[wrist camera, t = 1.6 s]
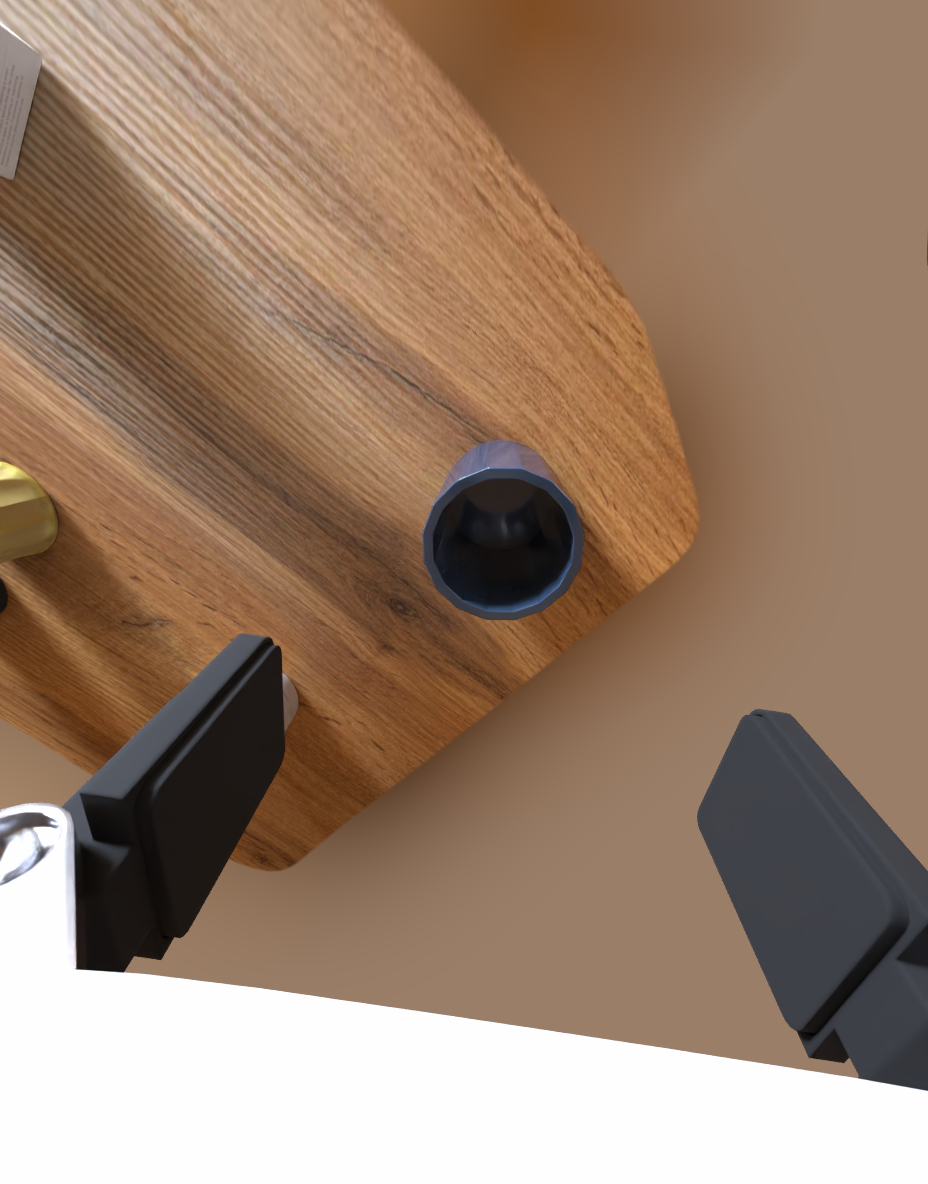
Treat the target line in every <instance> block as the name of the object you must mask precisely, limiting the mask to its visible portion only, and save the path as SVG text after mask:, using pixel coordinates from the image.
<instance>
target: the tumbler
mask: <svg viewBox="0 0 928 1184" xmlns="http://www.w3.org/2000/svg"><path fill="white" fill-rule="evenodd" d="M422 537H423V561H424V564H425V566H426V568H427V571H428V573H429V575H430V577H431V579H432V581H433V583H434V585H435V587H436V588H437V590H438V591H439V592H440V593H441V594H442V595H443V596H445V597H446V598H447V599H448V600H449V601H450V602H451V603H452V604H453V605H454V606H455V607H457V608H458V609H460V610H463V611H465V612H468V613H470V614H473V615H475V616H478V617H480V618H483V619H486V620H517V619H520V618H523V617H526V616H529V615H532V614H535V613H538V612H541V611H543V610H545V609H546V608H547V607H549V606H550V605H551V604H552V603H553V602H555V601H556V600H557V599H558V598H560V597H561V596H562V595H563V594H565V593H566V591H567V590H568V589H569V587H570V585H571V583H572V581H573V580H574V578H575V576H576V574H577V573H578V571H579V569H580V567H581V564H582V556H583V547H584V537H585V536H584V531H583V528H582V525H581V522H580V519H579V516H578V513H577V510H576V507H575V505H574V503H573V502H572V500H571V498H570V497H569V495H568V493H567V492H566V490H565V489H564V487H563V485H562V484H561V482H560V481H559V479H558V477H557V476H556V474H555V473H554V471H553V469H552V468H551V467H550V466H549V465H548V463H547V462H546V461H545V460H544V459H543V458H542V457H541V456H540V455H539V454H538V453H537V452H536V451H534V450H533V449H531V448H529V447H527V446H525V445H523V444H520V443H517V442H513V441H504V440H500V441H491V442H487V443H484V444H481V445H478V446H476V447H474V448H472V449H471V450H469V451H468V452H466V453H465V454H464V455H463V456H462V457H461V458H460V459H459V460H458V461H457V462H456V464H455V465H454V466H453V467H452V468H451V470H450V472H449V474H448V476H447V478H446V480H445V482H444V484H443V486H442V488H441V490H440V492H439V494H438V496H437V498H436V500H435V502H434V504H433V506H432V509H431V511H430V514H429V516H428V519H427V522H426V524H425V527H424V529H423V533H422Z"/></svg>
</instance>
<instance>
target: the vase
mask: <svg viewBox="0 0 928 1184" xmlns="http://www.w3.org/2000/svg"><path fill="white" fill-rule="evenodd" d="M57 532H58V519H57V514H56V511H55V508H54V506H53V504H52V502H51V500H50V498H49V496H48V495H47V493H46V492H45V491H44V489H43V488H42V487H41V486H40V485H39V484H38V483H37V482H36V481H35V480H34V479H33V478H32V477H30V476H29V475H28V474H26V473H25V472H23V471H22V470H20V469H18V468H17V467H15V466H12V465H10V464H7V463H4V462H0V563H3V562H6V561H9V560H12V559H15V558H18V557H22V556H28V555H33V554H38V553H42V552H44V551H46V550H47V549H48V548H49V547H50V546H51V545H52V544H53V543H54V541H55V539H56V536H57Z"/></svg>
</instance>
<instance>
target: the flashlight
mask: <svg viewBox="0 0 928 1184" xmlns="http://www.w3.org/2000/svg"><path fill="white" fill-rule="evenodd" d="M6 605H7V592H6V589H5V586H4V584H3V582H2V580H1V579H0V614H1V613H2V612H3V611H4V609H5V608H6Z"/></svg>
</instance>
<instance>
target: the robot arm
mask: <svg viewBox="0 0 928 1184" xmlns="http://www.w3.org/2000/svg"><path fill="white" fill-rule="evenodd" d="M284 754H285V729H284V703H283V677H282V653H281V648H280V647H279V646H275V645H274V643H273V640H272V639H271V638H270V637H264V636H257V635H250V634H239V635H238V636H237V637H236V638H235V639H234V640H233V641H232V642H231V643H230V644H229V645H228V646H227V647H226V648H225V649H224V650H223V651H222V652H221V653H220V654H219V655H218V656H217V657H216V658H215V659H214V660H213V661H211V662H210V663H209V664H208V665H207V666H206V667H205V668H204V669H203V670H202V671H201V672H200V673H199V674H198V675H197V676H196V677H195V678H194V679H193V680H192V681H191V682H190V683H189V684H188V685H187V686H186V687H185V688H184V689H183V690H182V691H181V692H180V693H179V694H177V695H176V696H175V697H173V698H172V699H171V700H170V701H169V702H168V703H167V704H166V705H165V706H164V707H163V708H162V709H161V710H160V711H159V712H158V713H157V714H156V715H155V716H154V717H152V718H151V719H150V720H149V721H148V722H147V723H146V724H145V725H144V726H143V727H142V728H141V729H140V730H139V731H138V732H137V733H136V734H135V735H134V736H133V737H132V738H131V739H130V740H129V741H128V742H127V743H126V744H125V745H124V746H123V747H122V748H121V749H120V750H119V751H118V752H117V753H116V754H115V755H114V756H113V757H112V758H111V759H110V760H109V761H108V762H107V763H106V764H105V765H104V766H103V767H102V768H101V769H100V770H99V771H98V772H97V773H96V774H95V775H94V776H93V777H92V778H91V779H90V780H89V781H87V783H86V784H85V785H83V786H82V787H81V789H79V790H78V791H77V792H76V793H75V794H74V795H73V796H72V797H71V798H70V799H69V800H68V801H67V802H66V803H65V804H64V805H63V806H62V807H61V806H58V805H53V804H49V803H27V804H23V805H18V806H14V807H10V808H5V809H3V810H0V1184H928V871H927V870H926V869H925V868H924V867H923V865H922V864H921V863H920V862H919V861H918V860H917V859H916V857H915V856H914V855H913V854H912V853H911V852H910V851H909V849H908V848H907V847H906V846H905V845H904V844H903V842H902V841H901V840H900V839H899V838H898V837H897V835H896V834H895V833H894V832H893V831H892V830H891V829H890V827H889V826H888V825H887V824H886V823H885V822H884V821H883V819H882V818H881V817H880V816H879V815H878V814H877V813H876V811H875V810H874V809H873V808H872V807H871V806H870V805H869V803H868V802H867V801H866V800H865V799H864V798H863V796H862V795H861V794H860V793H859V792H858V791H857V790H856V788H855V787H854V786H853V785H852V784H851V783H850V781H849V780H848V779H847V778H846V777H845V776H844V775H843V773H842V772H841V771H840V770H839V769H838V768H837V767H836V765H835V764H834V763H833V762H832V761H831V760H830V758H829V757H828V756H827V755H826V754H825V753H824V752H823V750H822V749H821V748H820V747H819V746H818V745H817V744H816V742H815V741H814V740H813V739H812V738H811V737H810V735H809V734H808V733H807V732H806V731H805V730H804V729H803V727H802V726H801V725H800V724H799V723H798V722H797V721H796V719H795V718H794V717H793V716H791V715H790V714H787V713H783V712H776V711H769V710H762V709H756V710H754V711H752V712H751V713H750V715H745V716H744V717H742V719H741V720H740V723H739V725H738V727H737V729H736V731H735V733H734V735H733V737H732V739H731V742H730V744H729V746H728V748H727V750H726V752H725V754H724V756H723V758H722V761H721V763H720V765H719V767H718V769H717V771H716V773H715V775H714V778H713V780H712V782H711V784H710V786H709V788H708V790H707V792H706V794H705V796H704V799H703V801H702V803H701V805H700V807H699V810H698V815H697V819H698V826H699V829H700V831H701V833H702V836H703V838H704V840H705V842H706V845H707V847H708V849H709V851H710V854H711V856H712V858H713V860H714V863H715V865H716V867H717V869H718V871H719V874H720V876H721V878H722V881H723V883H724V885H725V887H726V890H727V891H728V894H729V896H730V898H731V901H732V903H733V905H734V908H735V910H736V912H737V914H738V916H739V919H740V921H741V923H742V925H743V928H744V930H745V932H746V934H747V937H748V939H749V941H750V943H751V946H752V947H753V950H754V952H755V955H756V957H757V959H758V961H759V964H760V966H761V968H762V970H763V972H764V975H765V977H766V979H767V981H768V984H769V986H770V988H771V990H772V993H773V995H774V997H775V999H776V1002H777V1004H778V1006H779V1008H780V1011H781V1013H782V1015H783V1017H784V1019H785V1021H786V1022H787V1023H788V1025H789V1026H790V1027H791V1028H792V1029H794V1030H796V1031H797V1032H798V1035H799V1037H800V1039H801V1041H802V1044H803V1046H804V1048H805V1050H806V1052H807V1054H808V1057H809V1058H814V1059H821V1060H828V1061H835V1062H841V1063H844V1062H845V1061H846V1060H847V1059H848V1058H849V1057H850V1059H851V1061H852V1063H853V1065H854V1067H855V1069H856V1071H857V1072H858V1075H859V1077H858V1079H857V1078H851V1077H845V1076H838V1075H831V1074H825V1073H819V1072H813V1071H806V1070H800V1069H793V1068H787V1067H780V1066H775V1065H768V1064H762V1063H755V1062H749V1061H742V1060H736V1059H730V1058H724V1057H717V1056H710V1055H704V1054H698V1053H691V1052H685V1051H679V1050H673V1049H666V1048H659V1047H652V1046H646V1045H639V1044H633V1043H625V1042H619V1041H613V1040H607V1039H599V1038H593V1037H587V1036H580V1035H574V1034H567V1033H560V1032H554V1031H546V1030H540V1029H534V1028H527V1027H520V1026H514V1025H507V1024H500V1023H494V1022H487V1021H480V1020H474V1019H467V1018H460V1017H453V1016H447V1015H440V1014H433V1013H426V1012H419V1011H412V1010H406V1009H399V1008H391V1007H385V1006H378V1005H370V1004H364V1003H357V1002H350V1001H344V1000H337V999H329V998H323V997H315V996H308V995H302V994H295V993H288V992H281V991H274V990H268V989H260V988H252V987H244V986H236V985H228V984H220V983H212V982H204V981H195V980H188V979H179V978H172V977H164V976H156V975H147V974H136V973H124V971H125V970H126V968H127V966H128V965H129V963H130V962H131V960H132V958H133V957H134V956H137V957H145V958H151V959H157V960H161V959H162V958H163V956H164V954H165V952H166V951H167V949H168V947H169V945H170V944H171V942H172V940H173V939H174V937H177V938H181V937H183V936H184V935H185V934H186V933H187V932H188V930H189V928H190V927H191V925H192V923H193V921H194V920H195V918H196V916H197V915H198V913H199V911H200V909H201V907H202V906H203V904H204V902H205V900H206V898H207V897H208V895H209V893H210V891H211V890H212V888H213V886H214V884H215V883H216V881H217V879H218V877H219V875H220V874H221V872H222V870H223V868H224V866H225V865H226V863H227V861H228V859H229V857H230V856H231V854H232V852H233V850H234V849H235V847H236V845H237V843H238V841H239V840H240V838H241V836H242V834H243V832H244V831H245V829H246V827H247V825H248V824H249V822H250V820H251V818H252V816H253V815H254V813H255V811H256V809H257V807H258V806H259V804H260V802H261V800H262V798H263V797H264V795H265V793H266V791H267V790H268V788H269V786H270V784H271V782H272V781H273V779H274V777H275V775H276V773H277V772H278V770H279V768H280V766H281V764H282V761H283V758H284Z"/></svg>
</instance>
